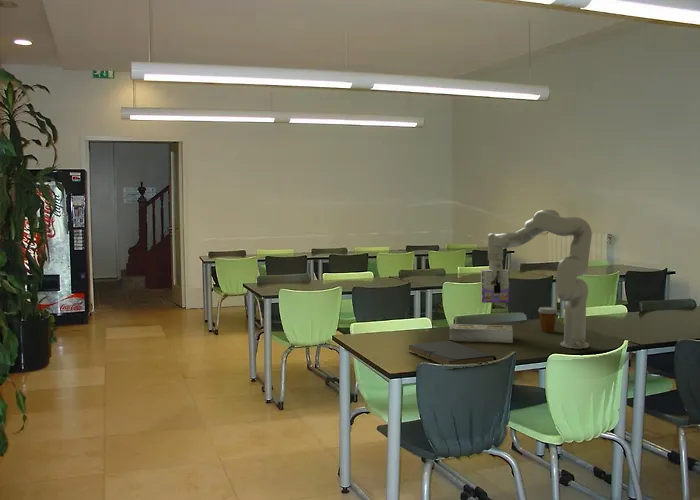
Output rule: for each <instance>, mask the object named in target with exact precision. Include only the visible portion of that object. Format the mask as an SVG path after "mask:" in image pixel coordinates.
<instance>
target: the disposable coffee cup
mask: <svg viewBox="0 0 700 500" xmlns="http://www.w3.org/2000/svg"><path fill="white" fill-rule="evenodd" d="M537 311H538V315H539V321H540V322H539V323H540V331H541V332H543V333H553V332H555V328H556V327H555V326H556V319H557V313H558V309H557V308H556V307H552V306H541V307H539V308H538V310H537Z"/></svg>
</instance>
